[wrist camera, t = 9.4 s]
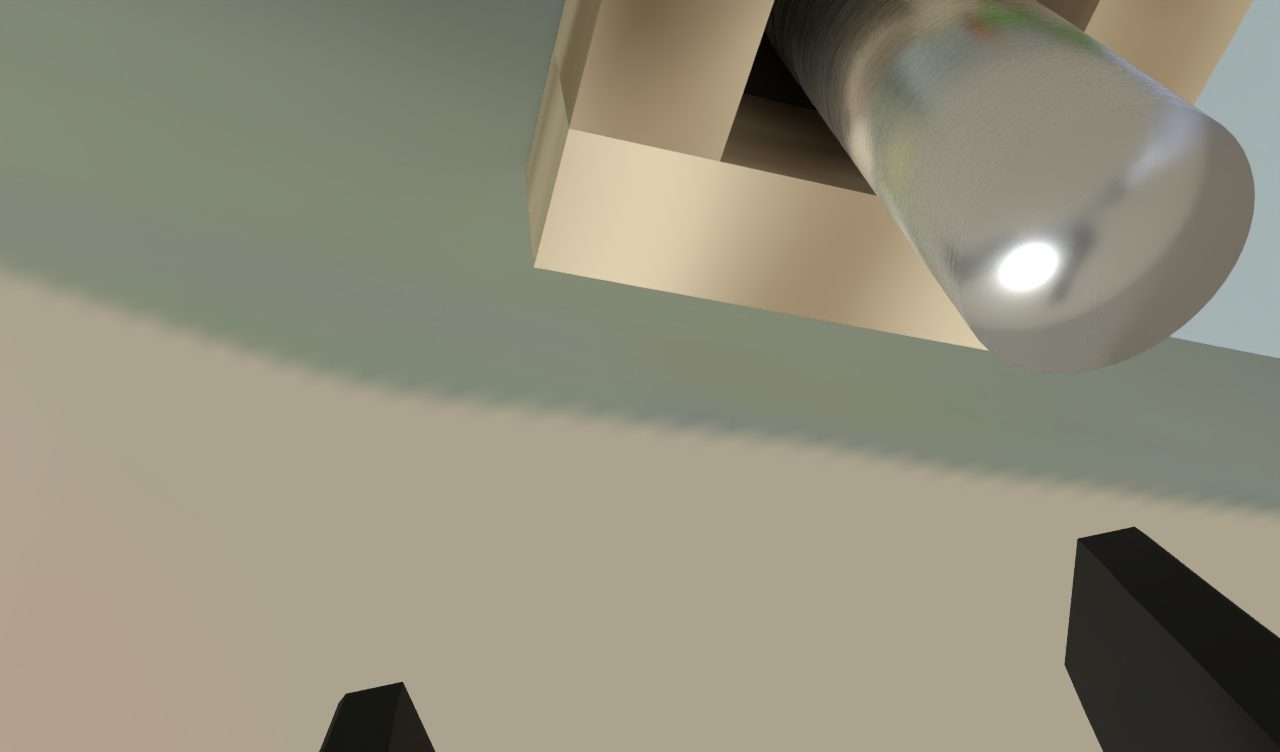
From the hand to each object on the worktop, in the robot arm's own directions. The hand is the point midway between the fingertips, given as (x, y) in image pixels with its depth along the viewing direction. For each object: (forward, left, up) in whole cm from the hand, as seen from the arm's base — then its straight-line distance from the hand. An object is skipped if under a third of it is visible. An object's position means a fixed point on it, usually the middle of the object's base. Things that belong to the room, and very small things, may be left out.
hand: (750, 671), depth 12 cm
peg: (-4, -4, -10) cm, 12 cm away
